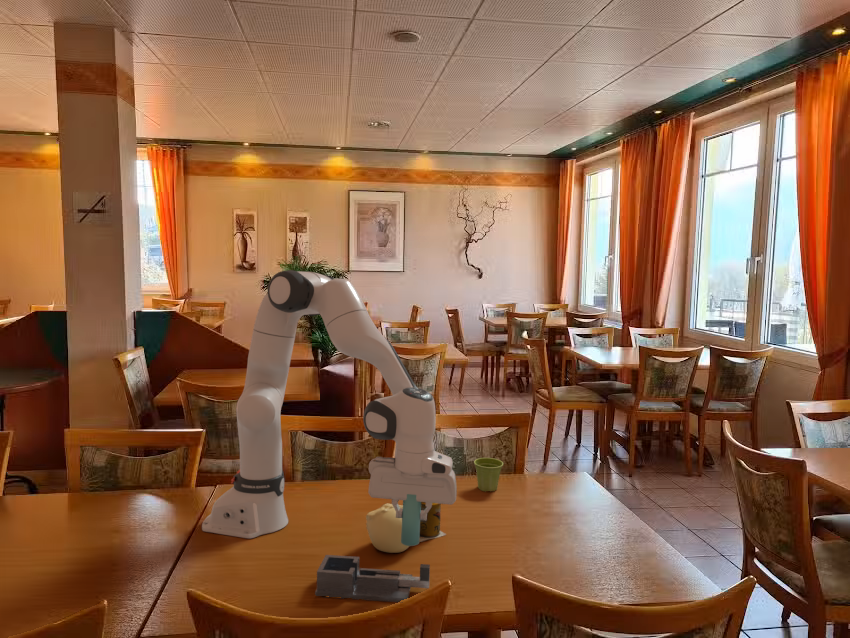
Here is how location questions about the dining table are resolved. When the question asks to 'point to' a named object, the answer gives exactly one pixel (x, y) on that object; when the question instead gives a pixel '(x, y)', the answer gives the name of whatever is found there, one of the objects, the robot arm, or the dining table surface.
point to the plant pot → (488, 473)
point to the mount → (357, 581)
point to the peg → (410, 521)
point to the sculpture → (385, 529)
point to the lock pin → (414, 578)
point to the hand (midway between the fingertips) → (411, 518)
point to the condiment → (430, 523)
